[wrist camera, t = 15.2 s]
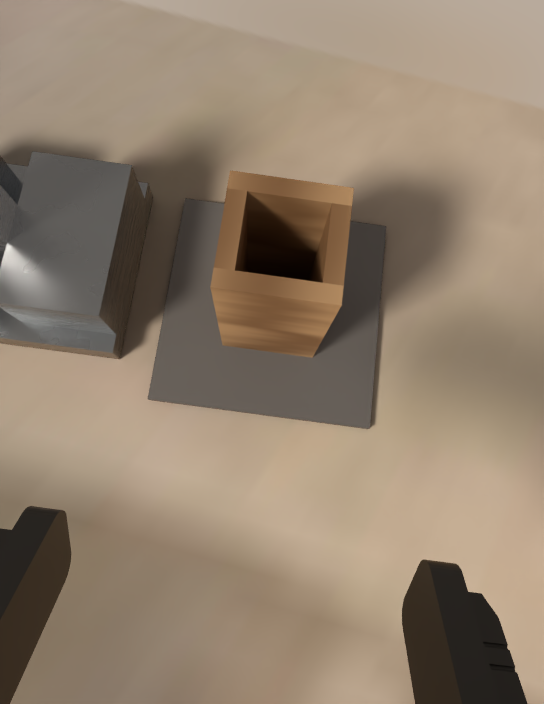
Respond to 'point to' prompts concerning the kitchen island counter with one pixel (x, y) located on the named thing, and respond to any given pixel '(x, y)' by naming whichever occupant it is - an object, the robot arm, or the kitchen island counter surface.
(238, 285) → the sleeve
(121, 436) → the kitchen island counter surface
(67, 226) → the vise
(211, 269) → the mat
